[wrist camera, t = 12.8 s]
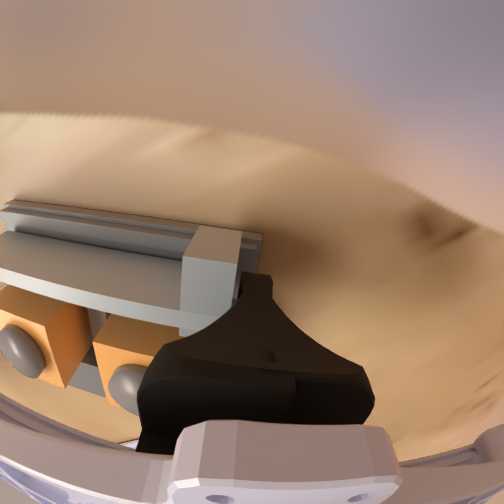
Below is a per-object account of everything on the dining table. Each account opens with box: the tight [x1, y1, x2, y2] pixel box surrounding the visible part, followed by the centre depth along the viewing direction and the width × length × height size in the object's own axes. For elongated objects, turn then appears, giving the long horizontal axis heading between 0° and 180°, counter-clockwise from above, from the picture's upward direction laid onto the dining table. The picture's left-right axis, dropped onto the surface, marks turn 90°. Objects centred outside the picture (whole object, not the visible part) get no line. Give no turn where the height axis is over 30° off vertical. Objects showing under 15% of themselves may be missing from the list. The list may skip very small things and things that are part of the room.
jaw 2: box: [93, 313, 185, 416], centre depth 12 cm, size 4×4×5 cm
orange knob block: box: [0, 284, 93, 389], centre depth 12 cm, size 4×4×5 cm
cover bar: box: [0, 225, 242, 337], centre depth 11 cm, size 13×3×4 cm, turn 81°
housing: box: [0, 200, 263, 397], centre depth 14 cm, size 14×13×2 cm
